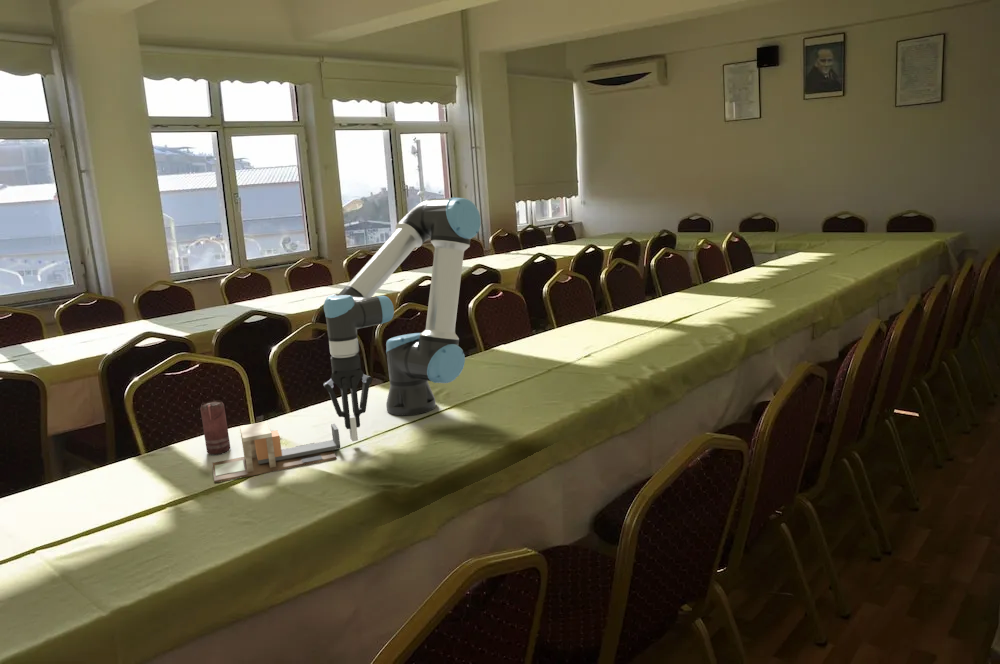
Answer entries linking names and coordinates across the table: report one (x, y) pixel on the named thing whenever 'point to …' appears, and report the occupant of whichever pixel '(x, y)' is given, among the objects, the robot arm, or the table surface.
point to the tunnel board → (249, 461)
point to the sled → (294, 451)
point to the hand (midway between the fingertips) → (354, 439)
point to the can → (215, 427)
